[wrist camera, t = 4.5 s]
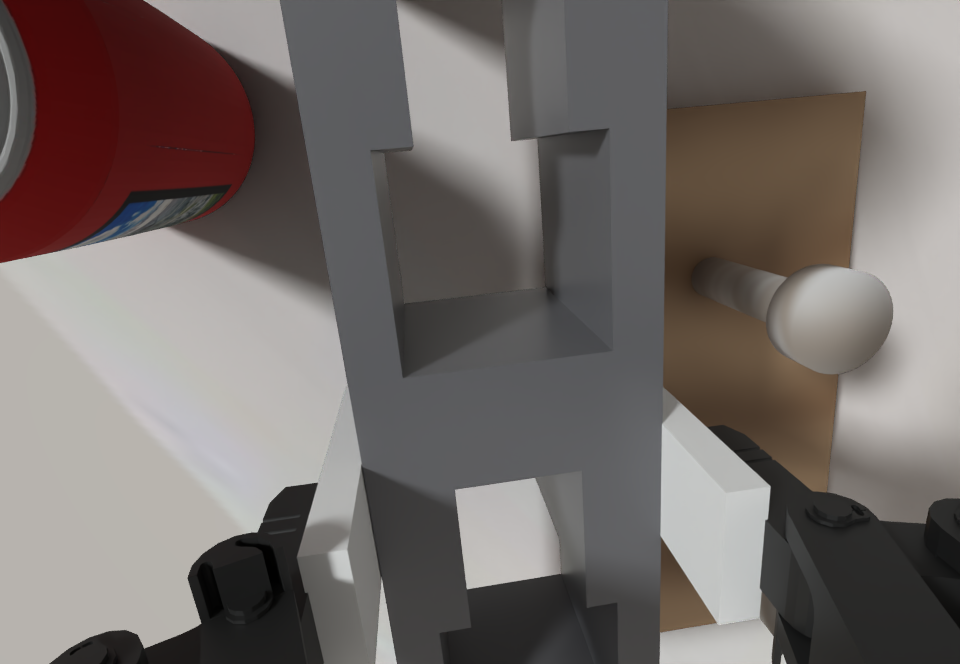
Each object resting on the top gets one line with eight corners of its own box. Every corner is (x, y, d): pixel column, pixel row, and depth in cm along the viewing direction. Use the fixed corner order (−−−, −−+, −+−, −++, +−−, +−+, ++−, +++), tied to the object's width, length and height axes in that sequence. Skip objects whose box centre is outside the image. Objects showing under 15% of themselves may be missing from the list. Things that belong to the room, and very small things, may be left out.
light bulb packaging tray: (303, -101, 12) (214, -324, 7) (565, -115, 13) (692, -332, 7) (423, 656, 19) (429, 870, 13) (591, 626, 20) (668, 820, 14)
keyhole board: (549, 121, 21) (631, 90, 13) (842, 95, 22) (1087, 51, 14) (575, 626, 28) (641, 810, 20) (799, 589, 29) (948, 750, 21)
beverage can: (49, 190, 20) (-433, 216, 9) (74, -10, 19) (-476, -301, 7) (242, 244, 21) (42, 329, 10) (280, 61, 20) (95, -90, 8)
